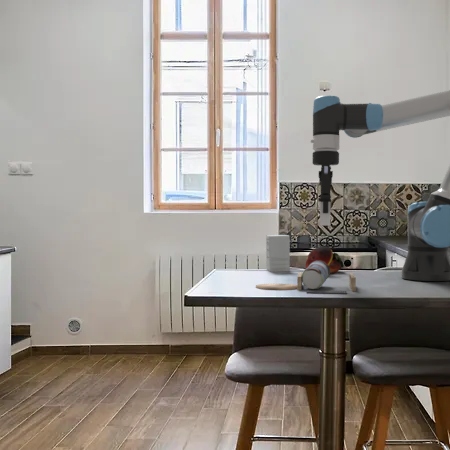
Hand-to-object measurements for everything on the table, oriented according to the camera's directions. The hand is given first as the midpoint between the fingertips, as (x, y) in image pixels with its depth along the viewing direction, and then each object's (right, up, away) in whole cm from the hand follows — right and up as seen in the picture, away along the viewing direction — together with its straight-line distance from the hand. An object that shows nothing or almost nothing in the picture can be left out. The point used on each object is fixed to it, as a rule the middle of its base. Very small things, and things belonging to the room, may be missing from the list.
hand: (324, 225), depth 169 cm
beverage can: (-2, -13, -4) cm, 14 cm away
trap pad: (-3, -17, -19) cm, 26 cm away
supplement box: (-10, -16, +37) cm, 42 cm away
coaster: (-14, -17, -9) cm, 24 cm away
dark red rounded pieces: (+11, -18, +31) cm, 37 cm away
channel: (-1, -17, -10) cm, 20 cm away
